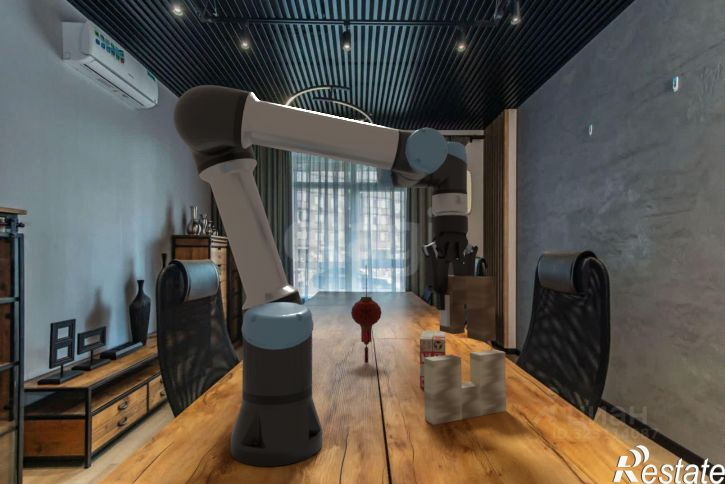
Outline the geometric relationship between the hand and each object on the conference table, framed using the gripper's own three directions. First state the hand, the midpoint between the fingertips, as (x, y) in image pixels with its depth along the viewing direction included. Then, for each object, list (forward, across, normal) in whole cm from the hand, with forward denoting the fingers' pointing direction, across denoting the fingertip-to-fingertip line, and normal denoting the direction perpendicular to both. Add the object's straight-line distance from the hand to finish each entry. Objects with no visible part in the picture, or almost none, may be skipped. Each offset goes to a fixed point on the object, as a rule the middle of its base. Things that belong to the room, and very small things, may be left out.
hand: (451, 324), depth 91 cm
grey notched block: (+17, 0, -5) cm, 18 cm away
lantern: (+18, +1, +46) cm, 49 cm away
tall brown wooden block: (+2, 0, -5) cm, 5 cm away
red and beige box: (+18, +10, +22) cm, 30 cm away
